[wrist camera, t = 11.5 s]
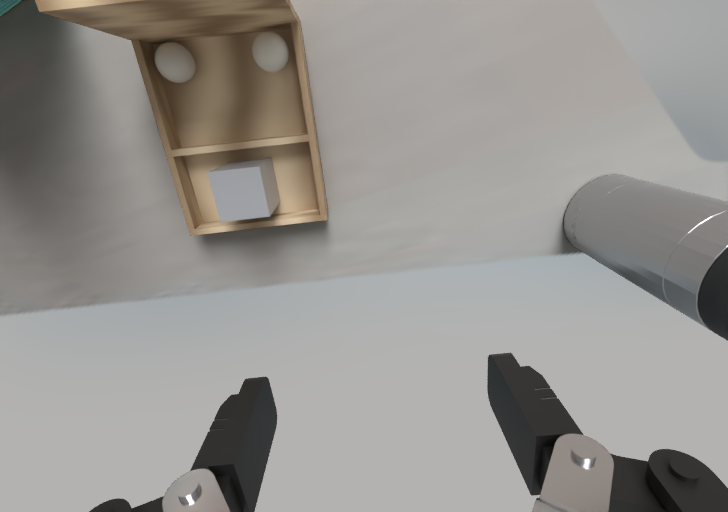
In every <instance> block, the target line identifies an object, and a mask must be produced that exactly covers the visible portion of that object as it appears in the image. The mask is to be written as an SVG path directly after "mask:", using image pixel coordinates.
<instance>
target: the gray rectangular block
mask: <svg viewBox="0 0 728 512" xmlns="http://www.w3.org/2000/svg"><path fill="white" fill-rule="evenodd" d="M207 173H208V177H209V181H210V185H211V188H212V192H213V196H214V200H215V204H216V207H217V211H218V215H219V219H220V222H226V221H235V220H244V219H253V218H261V217H270V215H271V214H272V213H273V211H274V210H275V208H276V207H277V205H278V204H279V202H280V196H279V191H278V186H277V180H276V175H275V170H274V165H273V160H272V157H271V158H262V159H253V160H245V161H236V162H228V163H225V164H223V165H221V166H219V167H217V168H215V169H213V170H211V171H209V172H207Z"/></svg>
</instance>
